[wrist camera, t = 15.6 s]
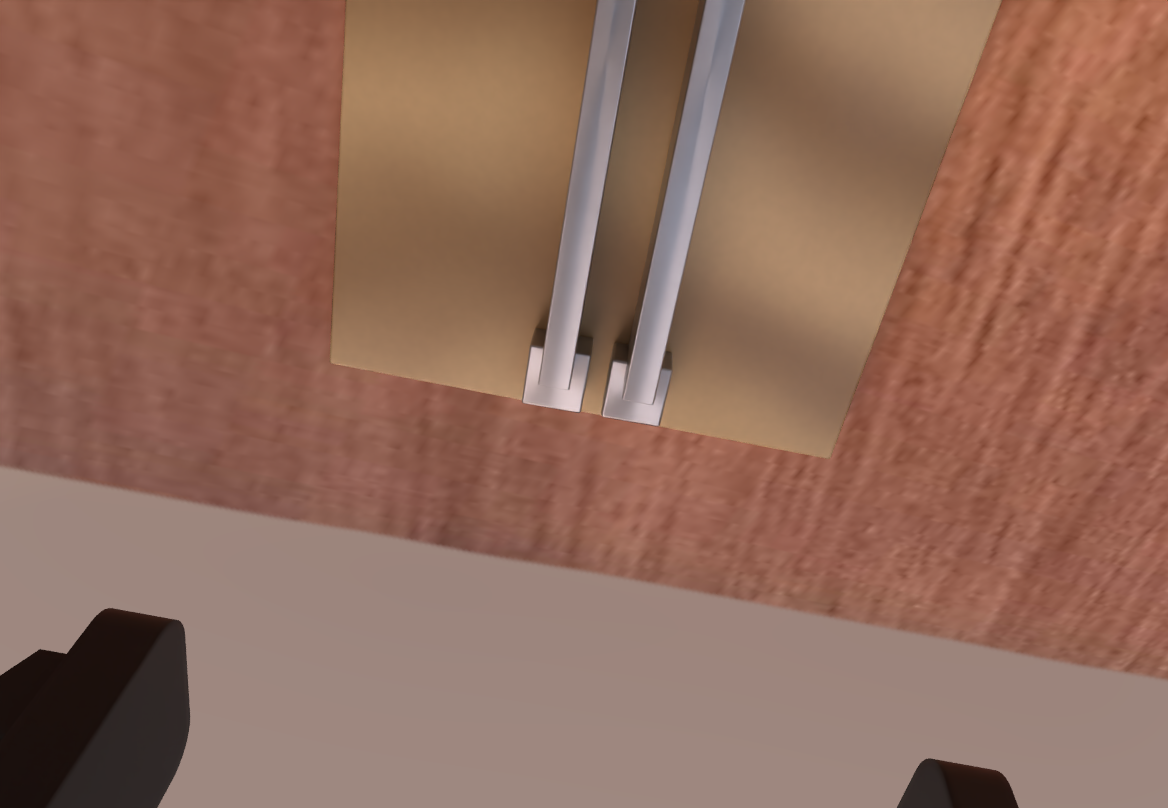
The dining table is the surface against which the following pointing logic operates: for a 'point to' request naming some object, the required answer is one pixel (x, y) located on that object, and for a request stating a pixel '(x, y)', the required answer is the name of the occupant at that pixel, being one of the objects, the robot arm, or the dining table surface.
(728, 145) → the cutting board
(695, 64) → the steel tongs
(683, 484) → the dining table surface
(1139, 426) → the dining table surface
